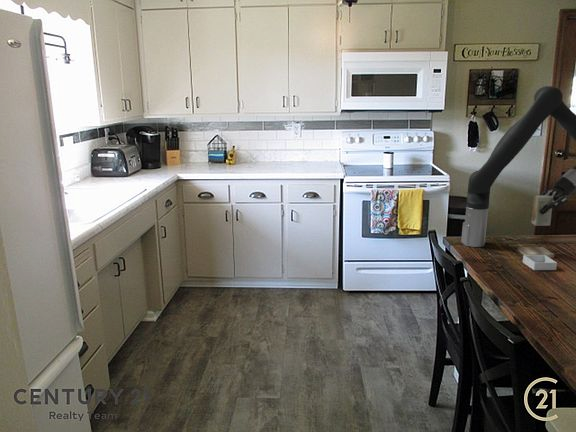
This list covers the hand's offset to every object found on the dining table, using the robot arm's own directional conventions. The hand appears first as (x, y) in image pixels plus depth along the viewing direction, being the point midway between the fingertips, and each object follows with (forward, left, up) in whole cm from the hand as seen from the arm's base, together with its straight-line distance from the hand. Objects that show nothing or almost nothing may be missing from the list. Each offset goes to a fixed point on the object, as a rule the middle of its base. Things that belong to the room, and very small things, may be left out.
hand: (537, 211), depth 202 cm
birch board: (+2, +1, -19) cm, 19 cm away
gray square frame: (-4, -13, -19) cm, 23 cm away
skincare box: (+2, 0, -6) cm, 6 cm away
